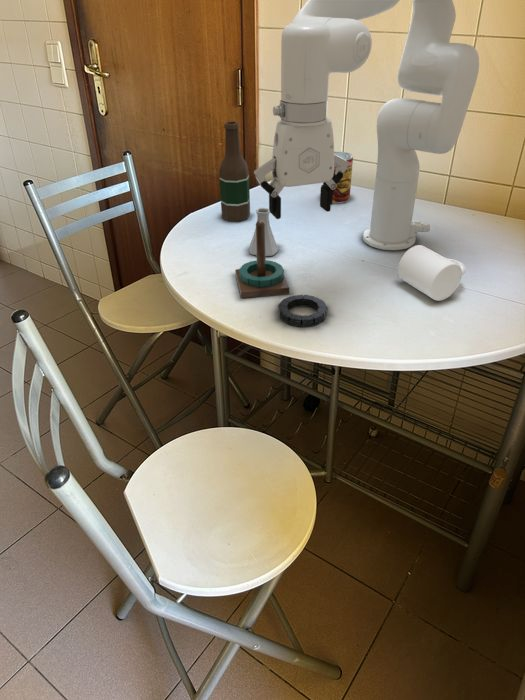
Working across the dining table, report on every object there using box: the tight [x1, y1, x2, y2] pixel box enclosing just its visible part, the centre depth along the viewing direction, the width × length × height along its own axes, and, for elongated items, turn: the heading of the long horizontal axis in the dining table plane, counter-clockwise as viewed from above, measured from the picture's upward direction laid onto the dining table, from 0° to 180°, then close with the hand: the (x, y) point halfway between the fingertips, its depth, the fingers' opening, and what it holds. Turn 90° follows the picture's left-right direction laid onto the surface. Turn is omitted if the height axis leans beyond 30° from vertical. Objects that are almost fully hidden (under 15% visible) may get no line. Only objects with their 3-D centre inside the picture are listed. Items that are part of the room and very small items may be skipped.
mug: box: [397, 244, 467, 302], centre depth 107 cm, size 12×10×8 cm
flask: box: [248, 207, 279, 257], centre depth 122 cm, size 7×7×10 cm
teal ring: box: [238, 259, 285, 287], centre depth 111 cm, size 9×9×2 cm
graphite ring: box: [277, 294, 328, 328], centre depth 102 cm, size 9×9×2 cm
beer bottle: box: [218, 120, 251, 223], centre depth 135 cm, size 8×8×24 cm
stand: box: [234, 220, 290, 299], centre depth 108 cm, size 10×10×14 cm
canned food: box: [322, 151, 354, 204], centre depth 148 cm, size 8×8×12 cm
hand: (300, 212), depth 96 cm, fingers open, 9 cm apart
